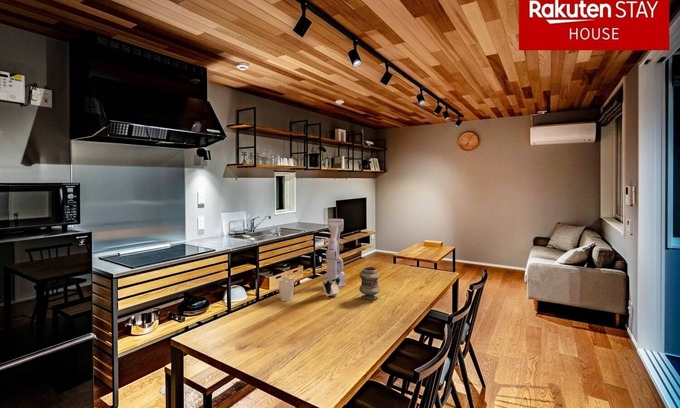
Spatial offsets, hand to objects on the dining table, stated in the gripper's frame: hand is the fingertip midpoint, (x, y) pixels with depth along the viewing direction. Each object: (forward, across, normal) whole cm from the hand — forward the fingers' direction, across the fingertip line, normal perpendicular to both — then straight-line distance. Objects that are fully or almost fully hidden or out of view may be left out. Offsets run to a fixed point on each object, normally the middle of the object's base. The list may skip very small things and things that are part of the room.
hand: (331, 291), depth 209 cm
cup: (+3, +20, -18) cm, 27 cm away
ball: (0, 0, +1) cm, 1 cm away
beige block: (+1, 0, +1) cm, 2 cm away
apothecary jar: (+3, -10, +20) cm, 23 cm away
